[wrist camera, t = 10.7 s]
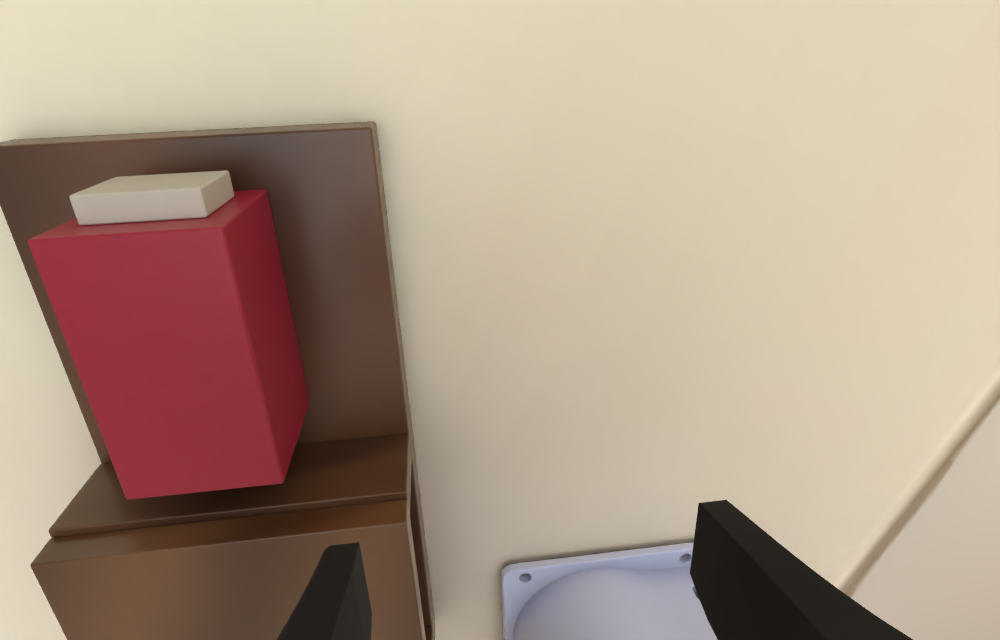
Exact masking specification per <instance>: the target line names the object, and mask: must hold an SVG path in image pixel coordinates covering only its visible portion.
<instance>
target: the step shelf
mask: <svg viewBox="0 0 1000 640" xmlns="http://www.w3.org/2000/svg"><path fill="white" fill-rule="evenodd" d="M209 171H229V174H230V178H231V183H232V187H233V191H242V190H259V189H265V190H267V193H268V198H269V203H270V208H271V213H272V218H273V223H274V228H275V233H276V238H277V243H278V248H279V253H280V258H281V263H282V268H283V273H284V278H285V283H286V288H287V293H288V298H289V303H290V308H291V312H292V317H293V322H294V327H295V332H296V337H297V342H298V347H299V352H300V357H301V362H302V367H303V372H304V377H305V382H306V387H307V392H308V397H309V402H310V403H309V406H308V409H307V413H306V416H305V419H304V422H303V425H302V428H301V431H300V434H299V437H298V440H297V443H296V446H295V449H294V452H293V456H292V459H291V462H290V465H289V468H288V471H287V474H286V477H285V480H284V483H282V484H274V485H264V486H254V487H245V488H235V489H226V490H216V491H207V492H197V493H188V494H178V495H169V496H159V497H150V498H140V499H130V500H128V499H126V497H125V495H124V492H123V490H122V487H121V484H120V482H119V479H118V477H117V474H116V471H115V469H114V466H113V464H112V461H111V458H110V456H109V453H108V451H107V448H106V445H105V443H104V440H103V438H102V435H101V432H100V430H99V427H98V425H97V422H96V419H95V417H94V414H93V412H92V409H91V406H90V404H89V401H88V399H87V396H86V393H85V391H84V388H83V386H82V383H81V380H80V378H79V375H78V373H77V370H76V367H75V365H74V362H73V359H72V357H71V354H70V352H69V349H68V346H67V344H66V341H65V339H64V336H63V333H62V331H61V328H60V326H59V323H58V320H57V318H56V315H55V313H54V310H53V307H52V305H51V302H50V300H49V297H48V294H47V292H46V289H45V287H44V284H43V281H42V279H41V276H40V274H39V271H38V268H37V266H36V263H35V261H34V258H33V255H32V253H31V250H30V248H29V245H28V240H29V239H31V238H33V237H35V236H37V235H39V234H41V233H44V232H46V231H48V230H50V229H52V228H54V227H56V226H58V225H61V224H63V223H65V222H67V221H69V220H71V219H73V218H75V217H76V215H75V213H74V210H73V207H72V204H71V201H70V198H69V197H70V195H72V194H74V193H77V192H79V191H82V190H84V189H87V188H89V187H92V186H94V185H97V184H99V183H102V182H104V181H107V180H109V179H112V178H114V177H121V176H138V175H156V174H173V173H191V172H209ZM0 206H1V208H2V211H3V213H4V216H5V218H6V221H7V223H8V226H9V228H10V231H11V233H12V236H13V239H14V241H15V244H16V246H17V249H18V251H19V254H20V256H21V259H22V261H23V264H24V267H25V269H26V272H27V274H28V277H29V279H30V282H31V284H32V287H33V289H34V292H35V295H36V297H37V300H38V302H39V305H40V307H41V310H42V312H43V315H44V317H45V320H46V322H47V325H48V328H49V330H50V333H51V335H52V338H53V340H54V343H55V345H56V348H57V350H58V353H59V356H60V358H61V361H62V363H63V366H64V368H65V371H66V373H67V376H68V378H69V381H70V384H71V386H72V389H73V391H74V394H75V396H76V399H77V401H78V404H79V406H80V409H81V412H82V414H83V417H84V419H85V422H86V424H87V427H88V429H89V432H90V434H91V437H92V439H93V442H94V445H95V447H96V450H97V452H98V455H99V457H100V460H101V462H102V464H100V466H99V467H98V468H97V469H96V471H95V472H94V473H93V474H92V476H91V477H90V478H89V480H88V481H87V482H86V483H85V485H84V486H83V487H82V488H81V490H80V491H79V492H78V494H77V495H76V496H75V497H74V499H73V500H72V501H71V502H70V504H69V505H68V506H67V508H66V509H65V510H64V511H63V513H62V514H61V515H60V516H59V518H58V519H57V520H56V522H55V523H54V524H53V525H52V527H51V528H50V529H49V533H50V535H51V537H52V538H51V539H50V540H49V541H48V543H47V544H46V545H45V546H44V548H43V549H42V550H41V552H40V553H39V554H38V556H37V557H36V558H35V559H34V561H33V562H32V563H31V568H32V570H33V572H34V574H35V576H36V578H37V580H38V582H39V584H40V586H41V588H42V590H43V592H44V594H45V596H46V598H47V600H48V602H49V604H50V606H51V608H52V610H53V612H54V614H55V616H56V618H57V620H58V622H59V624H60V626H61V628H62V630H63V632H64V634H65V636H66V638H67V640H277V638H278V636H279V635H280V633H281V631H282V630H283V628H284V626H285V624H286V623H287V621H288V619H289V618H290V616H291V614H292V612H293V611H294V609H295V607H296V605H297V603H298V602H299V600H300V598H301V596H302V594H303V592H304V590H305V589H306V587H307V585H308V583H309V581H310V579H311V577H312V575H313V573H314V571H315V569H316V567H317V565H318V563H319V561H320V558H321V556H322V554H323V552H324V550H325V549H326V548H327V547H328V546H331V545H340V544H348V543H357V542H359V544H360V549H361V555H362V561H363V566H364V572H365V577H366V583H367V588H368V594H369V599H370V605H371V610H372V627H371V640H435V617H434V608H433V600H432V592H431V583H430V575H429V566H428V558H427V549H426V541H425V533H424V524H423V516H422V507H421V499H420V490H419V482H418V474H417V465H416V457H415V448H414V440H413V431H412V423H411V415H410V406H409V398H408V389H407V381H406V373H405V364H404V356H403V347H402V339H401V330H400V322H399V314H398V305H397V297H396V288H395V280H394V271H393V263H392V255H391V246H390V238H389V229H388V221H387V212H386V204H385V196H384V187H383V179H382V170H381V162H380V153H379V145H378V137H377V128H376V123H375V122H353V123H334V124H314V125H294V126H274V127H255V128H235V129H215V130H195V131H176V132H156V133H136V134H116V135H97V136H77V137H57V138H37V139H18V140H10V141H5V142H1V143H0Z"/></svg>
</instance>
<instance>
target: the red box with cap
mask: <svg viewBox="0 0 1000 640" xmlns="http://www.w3.org/2000/svg"><path fill="white" fill-rule="evenodd" d="M69 198H70V201H71V204H72V207H73V210H74V213H75V215H76V217H75V218H73V219H71V220H69V221H67V222H65V223H63V224H61V225H58V226H56V227H54V228H52V229H50V230H48V231H46V232H44V233H41V234H39V235H37V236H35V237H33V238H31V239H29V240H28V245H29V248H30V250H31V253H32V255H33V258H34V261H35V263H36V266H37V268H38V271H39V274H40V276H41V279H42V281H43V284H44V287H45V289H46V292H47V294H48V297H49V300H50V302H51V305H52V307H53V310H54V313H55V315H56V318H57V320H58V323H59V326H60V328H61V331H62V333H63V336H64V339H65V341H66V344H67V346H68V349H69V352H70V354H71V357H72V359H73V362H74V365H75V367H76V370H77V373H78V375H79V378H80V380H81V383H82V386H83V388H84V391H85V393H86V396H87V399H88V401H89V404H90V406H91V409H92V412H93V414H94V417H95V419H96V422H97V425H98V427H99V430H100V432H101V435H102V438H103V440H104V443H105V445H106V448H107V451H108V453H109V456H110V458H111V461H112V464H113V466H114V469H115V471H116V474H117V477H118V479H119V482H120V484H121V487H122V490H123V492H124V495H125V497H126V499H128V500H130V499H140V498H150V497H159V496H169V495H178V494H188V493H197V492H207V491H216V490H226V489H235V488H245V487H254V486H264V485H274V484H282V483H284V480H285V477H286V474H287V471H288V468H289V465H290V462H291V459H292V456H293V452H294V449H295V446H296V443H297V440H298V437H299V434H300V431H301V428H302V425H303V422H304V419H305V416H306V413H307V409H308V406H309V403H310V402H309V397H308V392H307V387H306V382H305V377H304V372H303V367H302V362H301V357H300V352H299V347H298V342H297V337H296V332H295V327H294V322H293V317H292V312H291V308H290V303H289V298H288V293H287V288H286V283H285V278H284V273H283V268H282V263H281V258H280V253H279V248H278V243H277V238H276V233H275V228H274V223H273V218H272V213H271V208H270V203H269V198H268V193H267V190H265V189H259V190H242V191H233V187H232V183H231V178H230V174H229V171H209V172H191V173H173V174H156V175H138V176H121V177H114V178H112V179H109V180H107V181H104V182H102V183H99V184H97V185H94V186H92V187H89V188H87V189H84V190H82V191H79V192H77V193H74V194H72V195H70V197H69Z"/></svg>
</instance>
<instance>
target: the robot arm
mask: <svg viewBox="0 0 1000 640" xmlns="http://www.w3.org/2000/svg"><path fill="white" fill-rule="evenodd" d="M683 554H684V555H683ZM525 573H528V574H526V575H522V574H525ZM501 587H502V607H503V627H504V640H913V639H911V638H910V637H908V636H906V635H905V634H903V633H902V632H900V631H898V630H897V629H895V628H894V627H892V626H891V625H889V624H887V623H886V622H884V621H883V620H881V619H880V618H878V617H877V616H875V615H874V614H872V613H871V612H870V611H868V610H867V609H865V608H864V607H862V606H861V605H860V604H858V603H857V602H855V601H854V600H853V599H851V598H850V597H848V596H847V595H846V594H844V593H843V592H841V591H840V590H839V589H837V588H836V587H835V586H833V585H832V584H831V583H829V582H828V581H826V580H825V579H824V578H822V577H821V576H820V575H819V574H817V573H816V572H815V571H813V570H812V569H811V568H809V567H808V566H807V565H806V564H804V563H803V562H802V561H800V560H799V559H798V558H797V557H795V556H794V555H793V554H792V553H790V552H789V551H788V550H787V549H785V548H784V547H783V546H782V545H780V544H779V543H778V542H777V541H776V540H774V539H773V538H772V537H771V536H769V535H768V534H767V533H766V532H765V531H763V530H762V529H761V528H760V527H759V526H757V525H756V524H755V523H754V522H752V521H751V520H750V519H749V518H748V517H746V516H745V515H744V514H743V513H742V512H740V511H739V510H738V509H737V508H735V507H734V506H733V505H732V504H730V503H729V502H728V501H727V500H722V501H713V502H705V503H699V506H698V514H697V521H696V529H695V537H694V542H690V543H682V544H674V545H665V546H657V547H649V548H641V549H632V550H624V551H616V552H608V553H599V554H591V555H583V556H575V557H566V558H558V559H550V560H542V561H533V562H525V563H517V564H511V565H507V566H506V567H504V568H503V570H502V571H501ZM371 627H372V610H371V605H370V599H369V594H368V588H367V583H366V577H365V572H364V566H363V561H362V555H361V549H360V544H359V542H357V543H348V544H340V545H331V546H328V547H327V548H326V549H325V550H324V552H323V554H322V556H321V558H320V561H319V563H318V565H317V567H316V569H315V571H314V573H313V575H312V577H311V579H310V581H309V583H308V585H307V587H306V589H305V590H304V592H303V594H302V596H301V598H300V600H299V602H298V603H297V605H296V607H295V609H294V611H293V612H292V614H291V616H290V618H289V619H288V621H287V623H286V624H285V626H284V628H283V630H282V631H281V633H280V635H279V636H278V638H277V640H371Z"/></svg>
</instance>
